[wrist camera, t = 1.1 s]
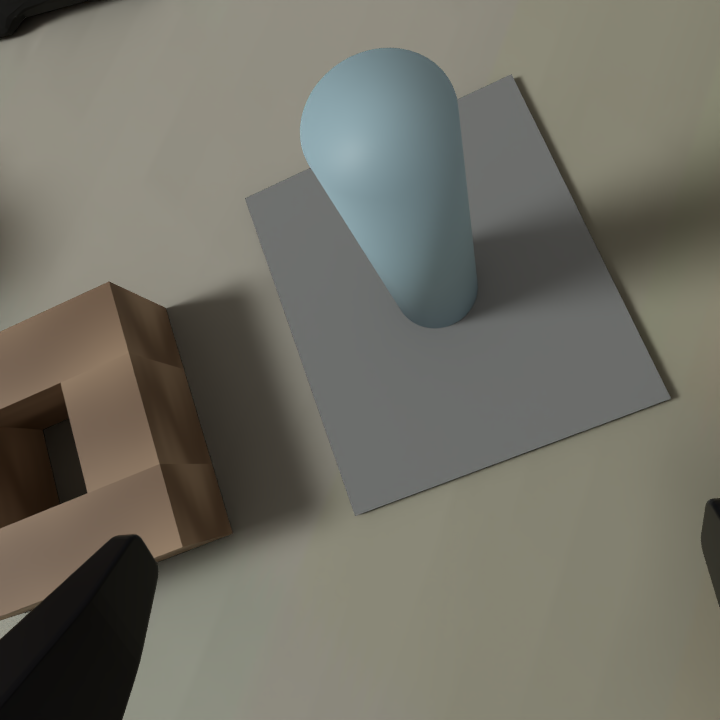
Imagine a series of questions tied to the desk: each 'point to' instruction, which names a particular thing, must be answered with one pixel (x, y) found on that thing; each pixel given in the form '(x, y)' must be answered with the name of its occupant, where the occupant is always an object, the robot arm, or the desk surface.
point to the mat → (469, 335)
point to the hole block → (98, 442)
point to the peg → (398, 176)
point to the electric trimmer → (26, 11)
